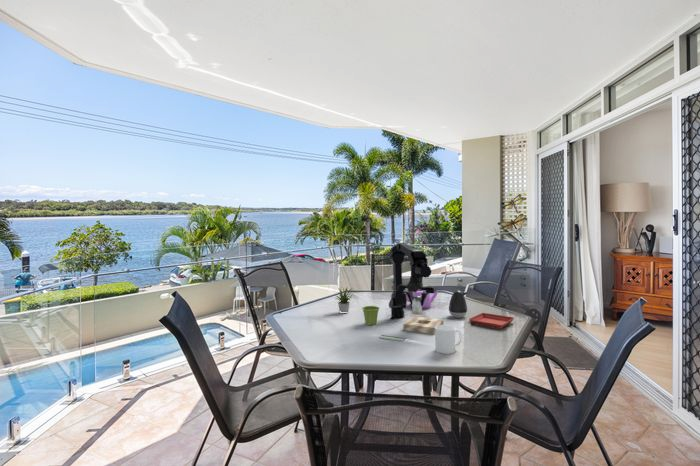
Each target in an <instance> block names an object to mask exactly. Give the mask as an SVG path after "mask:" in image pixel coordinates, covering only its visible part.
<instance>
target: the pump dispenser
mask: <svg viewBox="0 0 700 466" xmlns="http://www.w3.org/2000/svg"><path fill="white" fill-rule="evenodd" d="M466 295H468V291H465V292H462V291H460V290H455V291H453V293H452V294H451V296H450V300H449V304H448V311H449V313H450V316H452V317H453V318H456V319H463V318H465V317H466V315H467V312H468V303H467V300H466V297H465V296H466Z"/></svg>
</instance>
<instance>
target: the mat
mask: <svg viewBox="0 0 700 466" xmlns="http://www.w3.org/2000/svg"><path fill="white" fill-rule="evenodd" d="M378 339H385V340H390V341H391V340H392V341H396V342H397V341H398V342H404V341H405V340H406V339H407V338H404V337H397V336H391V335H385V334H380V336H378Z"/></svg>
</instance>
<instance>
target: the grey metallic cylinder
mask: <svg viewBox="0 0 700 466" xmlns="http://www.w3.org/2000/svg"><path fill="white" fill-rule="evenodd" d="M421 301H422V297H421V296H412V306H411V313H412V315H414V316H415V315H416V316H417V315H418V316H419V315H423V309H422V306H421Z"/></svg>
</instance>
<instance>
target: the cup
mask: <svg viewBox="0 0 700 466" xmlns="http://www.w3.org/2000/svg"><path fill="white" fill-rule="evenodd" d="M456 333H458V341H457V342H456ZM462 338H463V337H462V332H461V330H460V329H458V328H456V327H454V326H453V325H450V324H444V325H438V326H436V327H435V334H434V342H435V343H434V344H435V345H434V346H435V351H436V352H437V353H439V354H443V355H452V354H454V353H455V352H456V347H457V346H460V344H461V343H462Z"/></svg>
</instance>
